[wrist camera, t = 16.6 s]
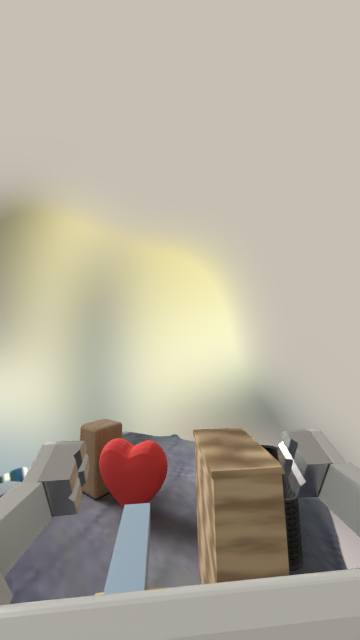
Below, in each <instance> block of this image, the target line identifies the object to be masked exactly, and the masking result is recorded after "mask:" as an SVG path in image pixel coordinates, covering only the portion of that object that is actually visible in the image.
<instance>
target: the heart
mask: <svg viewBox="0 0 360 640" xmlns="http://www.w3.org/2000/svg"><path fill="white" fill-rule="evenodd" d="M99 468H100V473H101V476H102V478H103V481H104V483H105V485H106V487H107V488H108V490H109V491H110V493H111V494H112V496H113V497H114V498H115V499H116V501H117V502H118V503H119V504H120V505H121V506H122V508H123V509H124V505H127V504H141V503H149V502H150V501H151V500H152V498H153V497H154V496H155V495H156V494H157V492H158V491H159V490H160V488H161V487H162V485H163V483H164V480H165V478H166V474H167V459H166V456H165V453H164V451H163V449H162V448H161V447H160V446H159V445H158V444H157V443H156V442H154V441H145V442H142V443H139V444H137V445H136V446H134V445H132V444H131V443H130V442H128V441H126V440H124V439H122V438H116V439H113V440H111V441H109V442H108V443H107V444H106V445H105V447H104V448H103V450H102V452H101V455H100V460H99Z"/></svg>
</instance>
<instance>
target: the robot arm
mask: <svg viewBox="0 0 360 640" xmlns="http://www.w3.org/2000/svg"><path fill="white" fill-rule="evenodd" d="M280 438H281V439H282V442H281V443H280V444H279V446H278V451H277V452H278V459H279V462H280V465H281V467H282V469H283V470H284V471H285V472H286V473H288V474H289V480H288V481H289V483H290V485H291V487H292V488H293V490H294V492H295V494H296V496H297V498H302V497H318V498H319V499H320V500H321V501H322V502H323V503H324V504H325V505H326V506H327V507H328V508H329V509H330V510H332V511H333V512H334V513H335V514H336V515H337V516H338V517H339V518H340V519H341V520H342V521H343V522H344V523H345V524H346V525H348V526H349V527H350V528H351V529H352V530H353V531H354V532H355V533H356V534H357V535H358V536H359V537H360V469H359V468H358V467H356V466H354V465H353V464H351V463H346V461H345V460H344V459H343V458H342V456H341V455H340V454H339V453H338V451H337V450H336V449H335V448H334V447H333V445H332V444H331V443H330V441H329V440H328V439H327V437H326V436H325V435H324V434H323V432H322V431H321V430H319V429H300V430H284V431H283V432H282V433H281V437H280ZM86 449H87V444H86V441H59V442H45V443H44V444H43V445H42V447H41V448H40V450H39V452H38V454H37V456H36V457H35V460H34V461H33V463H32V465H31V467H30V469H29V470H28V472H27V474H26V476H25V478H24V480H23V482H22V483H20V484H17V485H15V486H14V487H13V488H12V489H10V490H9V491H8V492H7V493H6V494H4V495H3V496H2V497H1V498H0V640H360V568H357V569H347V570H337V571H327V572H317V573H308V574H298V575H288V576H278V577H269V578H259V579H249V580H240V581H230V582H220V583H210V584H201V585H191V586H181V587H172V588H162V589H152V590H143V591H133V592H123V593H114V594H104V595H94V596H84V597H75V598H65V599H55V600H46V601H36V602H26V603H16V604H10V602H11V599H12V595H11V592H10V590H9V587H8V585H7V583H6V581H5V579H4V577H5V576H6V575H7V573H8V572H9V571H10V570H11V568H12V567H13V566H14V565H15V563H16V562H17V561H18V560H19V559H20V557H21V556H22V555H23V554H24V552H25V551H26V550H27V549H28V548H29V546H30V545H31V544H32V543H33V541H34V540H35V539H36V538H37V536H38V535H39V534H40V533H41V532H42V530H43V529H44V528H45V527H46V525H47V524H48V523H49V522H50V520H51V519H52V517H54V516H64V515H73V514H77V512H78V508H79V505H80V501H81V498H82V489H81V487H82V486H83V485H84V484H85V483H86V480H87V477H88V471H89V456H88V455H87V454H86Z"/></svg>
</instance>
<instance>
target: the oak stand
mask: <svg viewBox="0 0 360 640" xmlns="http://www.w3.org/2000/svg"><path fill="white" fill-rule="evenodd" d="M193 435H194V438H195V456H196V492H197V527H198V563H199V573H200V578H201V584H210V583H220V582H230V581H240V580H249V579H259V578H269V577H278V576H288V575H290V574H289V561H288V547H287V534H286V521H285V508H284V494H283V481H282V474H285V471H284V470H283V469H282V467H281V465H280V462H279V461H278V460H276V459H275V458H274V457H273V456H272V455H271V454H270V453H269V452H268V451H266V450H265V449H264V448H263V447H262V446H261V445H260V444H259V443H258V442H256V441H255V440H254V439H253V438H252V437H251V436H250V435H249V434H248V433H246V432H245V431H244V430H243V429H242V428H224V429H223V428H222V429H202V430H193Z"/></svg>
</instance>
